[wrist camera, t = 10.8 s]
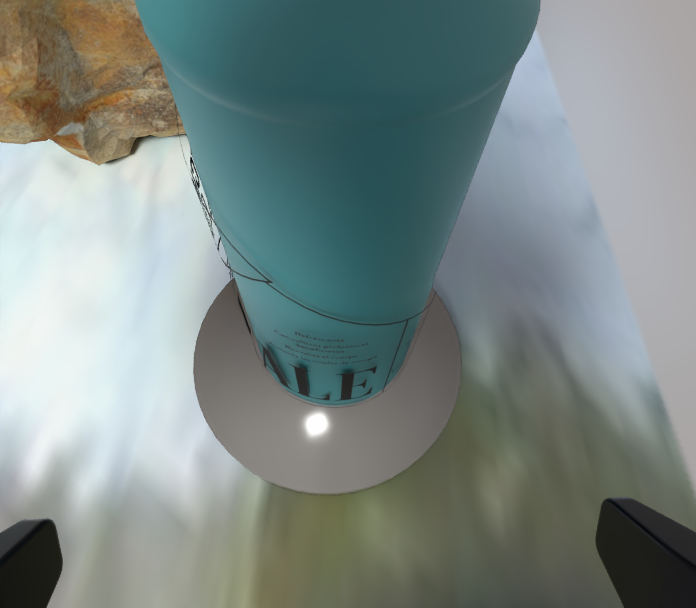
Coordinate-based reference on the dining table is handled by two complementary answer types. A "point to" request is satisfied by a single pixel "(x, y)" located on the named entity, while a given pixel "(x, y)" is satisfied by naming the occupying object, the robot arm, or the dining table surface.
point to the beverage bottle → (336, 161)
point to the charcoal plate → (320, 422)
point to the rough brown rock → (81, 77)
